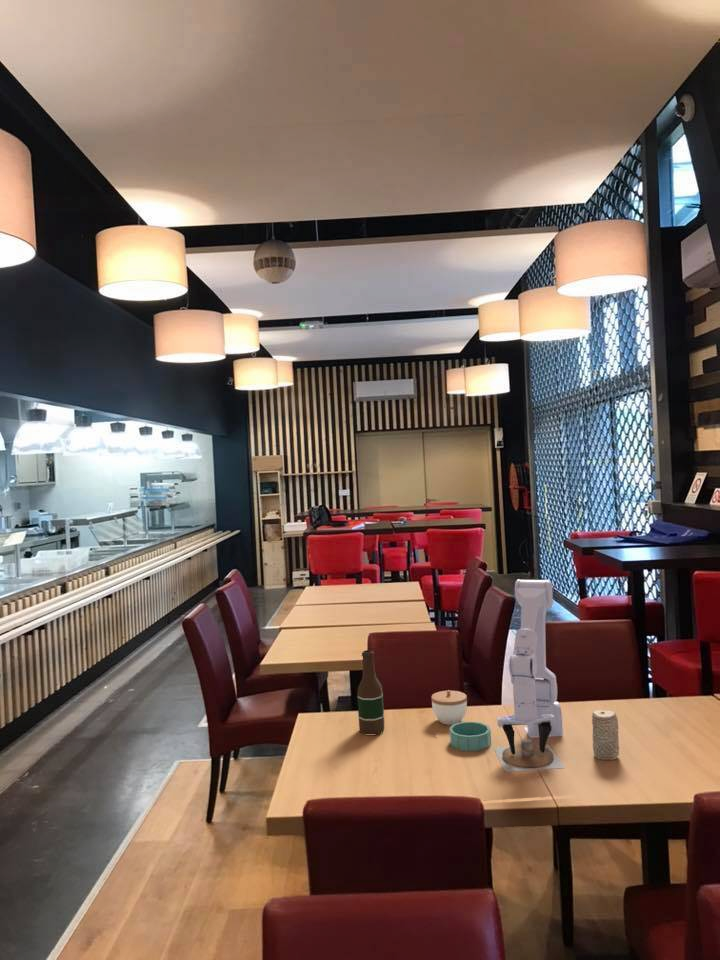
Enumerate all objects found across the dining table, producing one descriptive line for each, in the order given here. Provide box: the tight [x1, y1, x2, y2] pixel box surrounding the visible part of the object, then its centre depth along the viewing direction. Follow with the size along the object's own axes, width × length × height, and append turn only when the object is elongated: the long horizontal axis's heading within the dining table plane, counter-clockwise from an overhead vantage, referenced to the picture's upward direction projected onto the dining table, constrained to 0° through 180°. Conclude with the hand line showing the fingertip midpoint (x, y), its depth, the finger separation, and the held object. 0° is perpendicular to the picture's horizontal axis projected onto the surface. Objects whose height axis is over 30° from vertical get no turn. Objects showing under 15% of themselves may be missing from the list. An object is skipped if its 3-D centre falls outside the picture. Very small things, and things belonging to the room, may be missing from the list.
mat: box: [493, 744, 566, 773], centre depth 186 cm, size 15×15×1 cm
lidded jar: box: [430, 689, 468, 726], centre depth 217 cm, size 11×11×9 cm
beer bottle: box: [356, 649, 385, 735], centre depth 212 cm, size 8×8×24 cm
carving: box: [591, 709, 620, 761], centre depth 184 cm, size 6×8×12 cm
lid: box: [502, 738, 554, 768], centre depth 186 cm, size 13×13×4 cm
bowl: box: [448, 721, 492, 752], centre depth 198 cm, size 11×11×4 cm
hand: (527, 751), depth 186 cm, fingers open, 7 cm apart
